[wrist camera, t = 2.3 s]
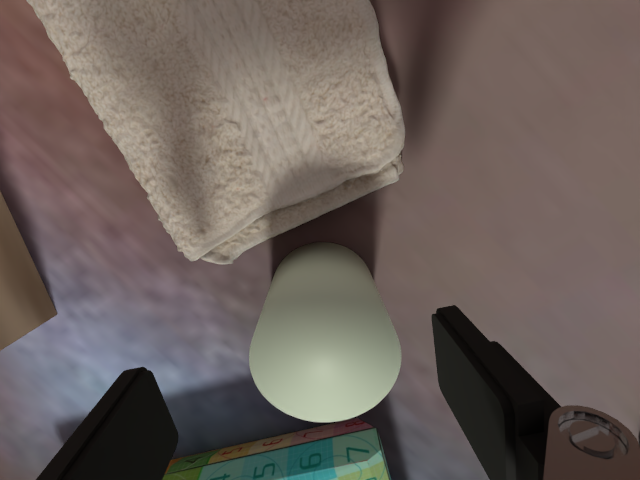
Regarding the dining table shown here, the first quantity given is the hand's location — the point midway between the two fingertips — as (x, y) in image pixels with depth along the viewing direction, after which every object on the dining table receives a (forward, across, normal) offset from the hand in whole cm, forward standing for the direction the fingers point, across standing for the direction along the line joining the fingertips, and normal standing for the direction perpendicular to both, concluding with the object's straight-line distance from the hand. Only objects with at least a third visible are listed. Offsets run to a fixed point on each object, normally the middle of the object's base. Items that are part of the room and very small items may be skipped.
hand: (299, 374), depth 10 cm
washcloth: (+8, +1, -12) cm, 14 cm away
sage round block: (+7, -1, +1) cm, 7 cm away
